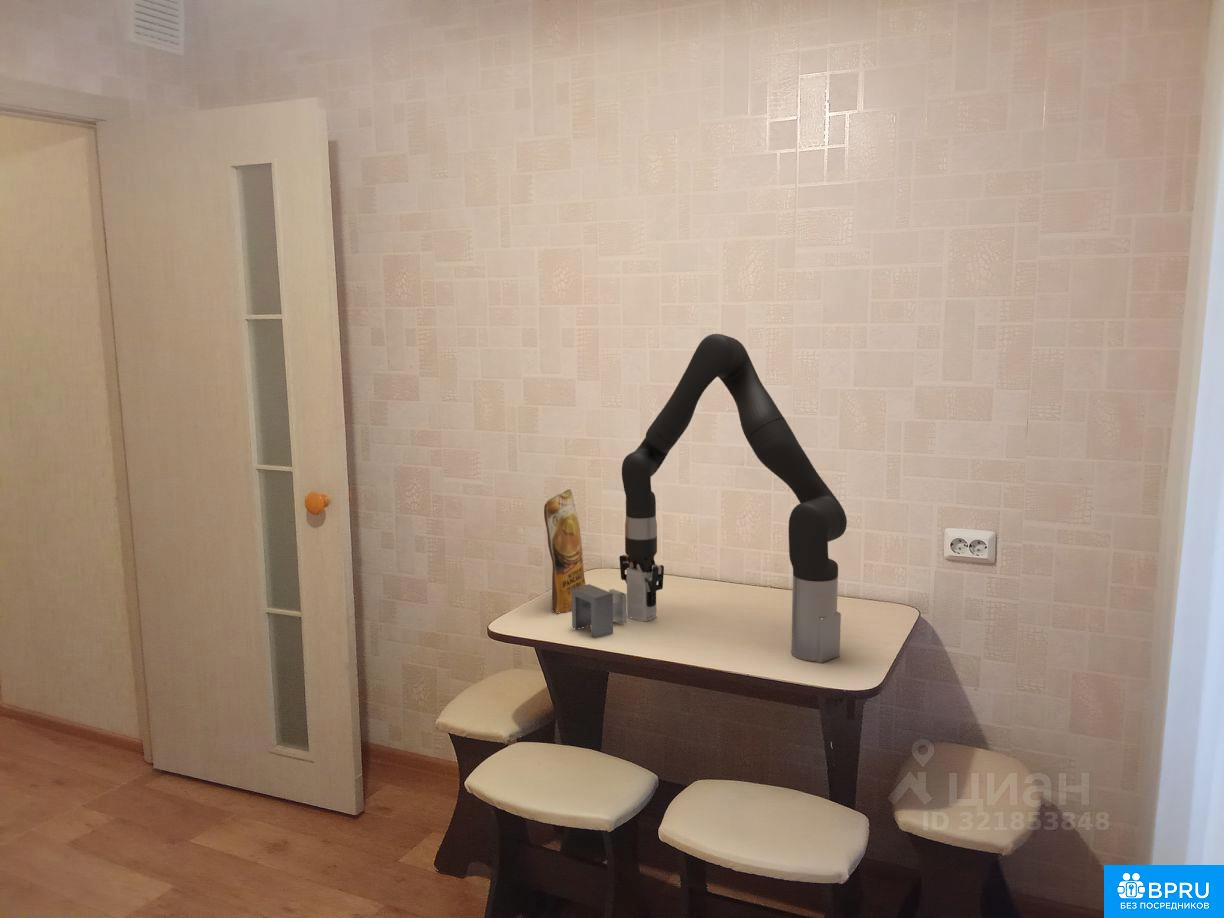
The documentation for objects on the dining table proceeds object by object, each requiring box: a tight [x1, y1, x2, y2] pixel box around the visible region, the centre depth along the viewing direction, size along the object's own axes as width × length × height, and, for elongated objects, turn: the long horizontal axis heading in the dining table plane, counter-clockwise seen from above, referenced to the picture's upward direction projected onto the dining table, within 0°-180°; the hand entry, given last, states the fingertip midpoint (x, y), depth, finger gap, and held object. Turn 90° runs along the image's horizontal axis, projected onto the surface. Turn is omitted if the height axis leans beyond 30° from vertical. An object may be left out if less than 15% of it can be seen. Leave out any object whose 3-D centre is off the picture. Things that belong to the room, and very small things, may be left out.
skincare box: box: [626, 568, 657, 623], centre depth 218 cm, size 6×4×12 cm
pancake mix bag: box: [543, 489, 587, 615], centre depth 227 cm, size 7×19×28 cm, turn 156°
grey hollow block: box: [571, 583, 614, 640], centre depth 213 cm, size 12×11×10 cm
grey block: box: [608, 588, 628, 625], centre depth 215 cm, size 10×6×7 cm, turn 37°
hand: (641, 602), depth 218 cm, fingers closed on skincare box, 6 cm apart
